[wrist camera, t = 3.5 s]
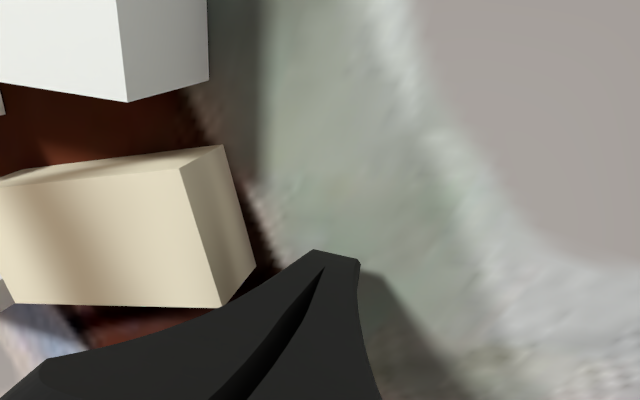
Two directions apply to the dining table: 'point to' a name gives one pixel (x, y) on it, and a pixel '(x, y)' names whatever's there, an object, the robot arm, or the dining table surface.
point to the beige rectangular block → (125, 231)
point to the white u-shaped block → (104, 46)
